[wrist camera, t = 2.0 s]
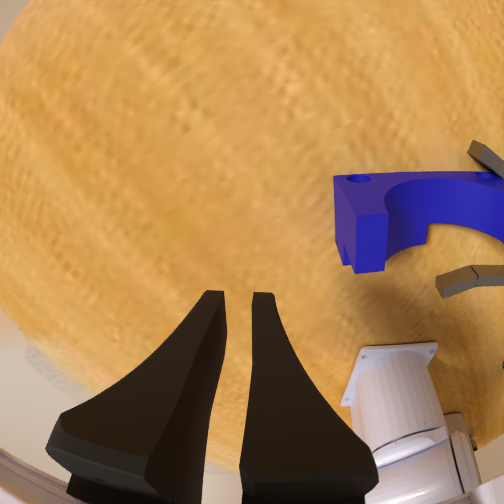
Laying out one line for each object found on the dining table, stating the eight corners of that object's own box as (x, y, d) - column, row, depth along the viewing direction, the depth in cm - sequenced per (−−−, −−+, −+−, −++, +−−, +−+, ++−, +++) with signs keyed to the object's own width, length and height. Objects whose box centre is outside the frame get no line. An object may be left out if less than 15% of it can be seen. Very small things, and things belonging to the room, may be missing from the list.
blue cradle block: (334, 240, 20) (353, 298, 15) (332, 174, 18) (356, 215, 13) (481, 227, 18) (525, 272, 13) (490, 170, 16) (542, 205, 11)
